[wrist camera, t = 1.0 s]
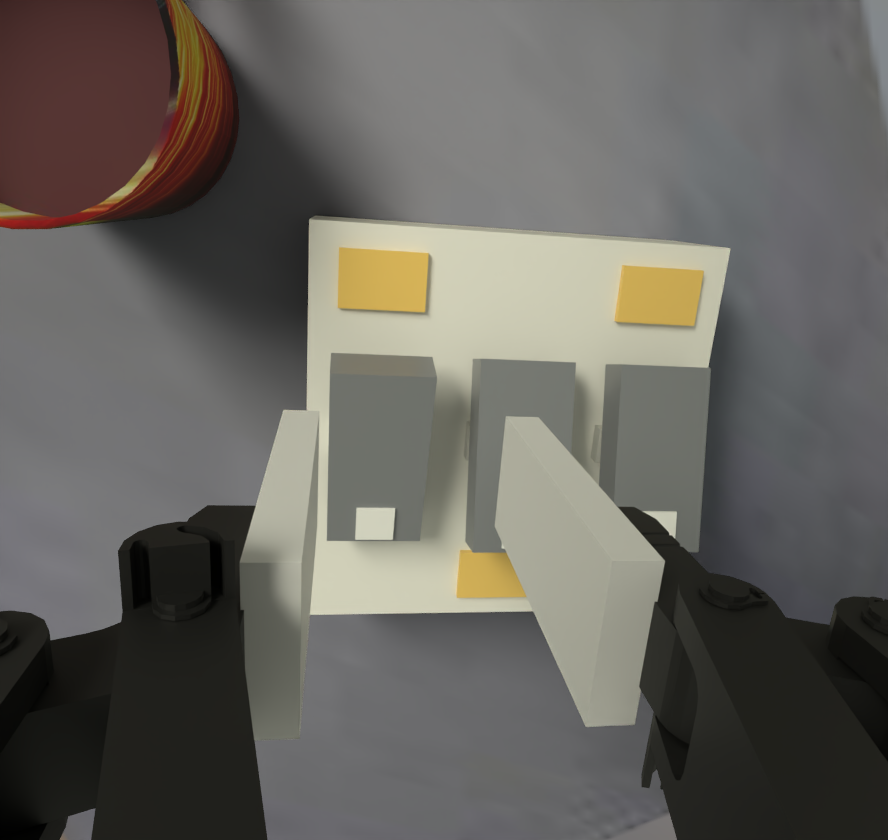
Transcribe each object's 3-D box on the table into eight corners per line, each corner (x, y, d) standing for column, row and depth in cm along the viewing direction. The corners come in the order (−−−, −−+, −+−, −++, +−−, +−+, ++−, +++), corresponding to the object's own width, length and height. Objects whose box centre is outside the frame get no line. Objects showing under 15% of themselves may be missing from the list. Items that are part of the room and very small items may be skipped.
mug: (146, -167, 28) (11, -415, 17) (271, 182, 32) (232, 175, 21) (-89, -99, 27) (-392, -306, 16) (71, 244, 32) (-78, 270, 21)
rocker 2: (472, 358, 30) (481, 358, 28) (562, 362, 30) (577, 362, 28) (465, 541, 30) (473, 553, 28) (552, 541, 31) (567, 553, 29)
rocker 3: (605, 364, 31) (623, 364, 29) (690, 367, 31) (712, 367, 29) (595, 541, 31) (612, 553, 29) (678, 541, 32) (700, 552, 30)
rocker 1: (330, 352, 27) (329, 375, 25) (432, 356, 28) (437, 379, 26) (327, 514, 31) (326, 543, 29) (416, 515, 32) (420, 543, 30)
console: (315, 215, 33) (308, 219, 27) (669, 240, 36) (739, 249, 29) (310, 553, 38) (303, 623, 32) (618, 552, 41) (668, 616, 35)
